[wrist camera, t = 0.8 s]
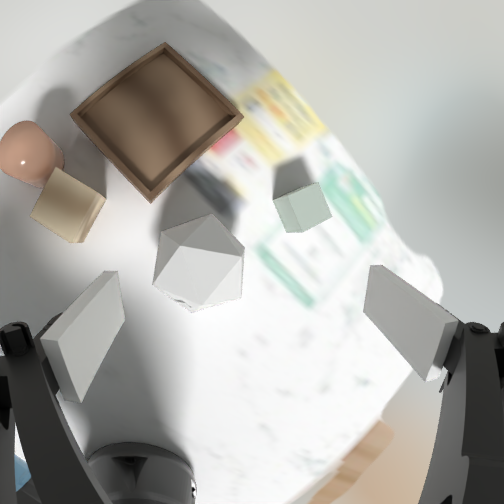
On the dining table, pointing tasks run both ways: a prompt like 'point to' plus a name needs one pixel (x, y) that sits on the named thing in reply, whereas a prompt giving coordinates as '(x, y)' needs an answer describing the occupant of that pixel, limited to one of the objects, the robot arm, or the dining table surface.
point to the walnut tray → (156, 119)
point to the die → (199, 264)
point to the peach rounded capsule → (29, 154)
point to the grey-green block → (302, 208)
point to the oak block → (67, 207)
